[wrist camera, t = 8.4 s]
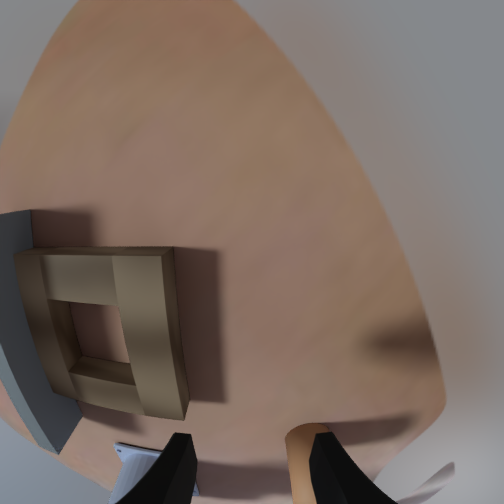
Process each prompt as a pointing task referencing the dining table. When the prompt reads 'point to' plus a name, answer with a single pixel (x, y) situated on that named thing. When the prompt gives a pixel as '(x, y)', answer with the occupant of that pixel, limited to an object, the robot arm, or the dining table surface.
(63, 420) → the wall
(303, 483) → the dowel
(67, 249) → the socket block
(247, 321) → the dining table surface
